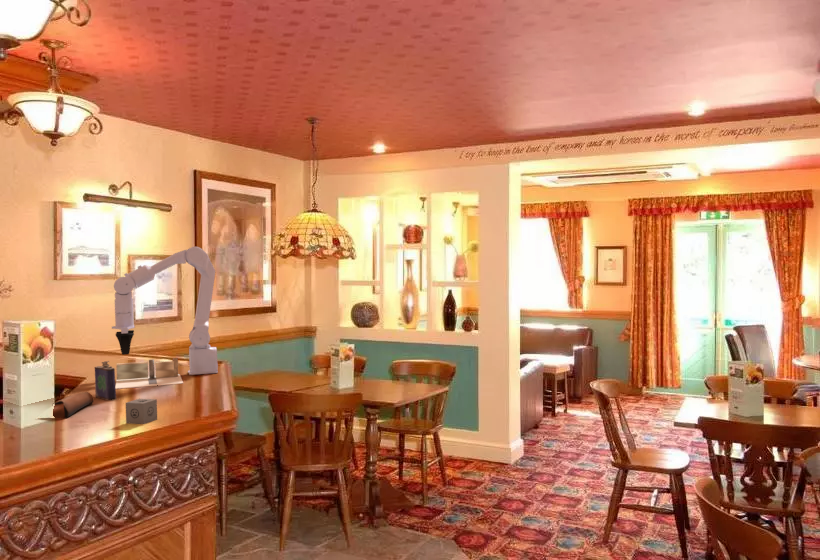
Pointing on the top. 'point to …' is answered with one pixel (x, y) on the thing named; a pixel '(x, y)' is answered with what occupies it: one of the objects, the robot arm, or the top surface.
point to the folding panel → (132, 370)
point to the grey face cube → (141, 411)
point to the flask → (105, 382)
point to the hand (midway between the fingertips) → (125, 353)
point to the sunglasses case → (71, 404)
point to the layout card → (147, 382)
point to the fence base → (163, 369)
